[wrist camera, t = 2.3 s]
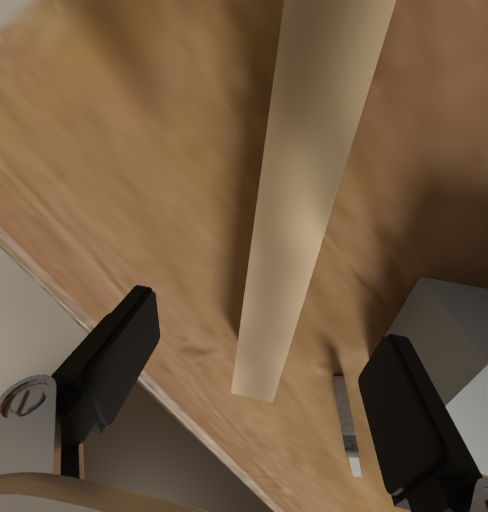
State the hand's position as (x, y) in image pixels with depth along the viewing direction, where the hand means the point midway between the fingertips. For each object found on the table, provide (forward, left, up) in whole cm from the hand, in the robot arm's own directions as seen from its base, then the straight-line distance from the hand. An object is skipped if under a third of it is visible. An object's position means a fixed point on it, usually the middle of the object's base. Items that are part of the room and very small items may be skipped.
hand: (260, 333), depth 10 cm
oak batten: (0, 0, -9) cm, 9 cm away
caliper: (-13, +22, -9) cm, 27 cm away
